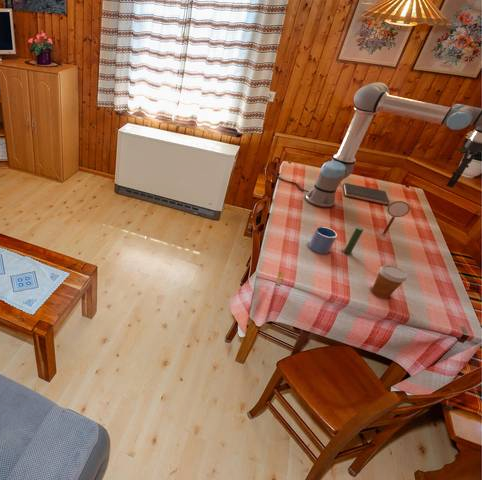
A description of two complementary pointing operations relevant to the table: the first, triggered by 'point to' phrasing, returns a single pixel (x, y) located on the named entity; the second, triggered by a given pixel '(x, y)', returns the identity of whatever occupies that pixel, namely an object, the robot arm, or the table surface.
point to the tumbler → (322, 240)
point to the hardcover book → (365, 193)
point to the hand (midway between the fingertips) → (452, 182)
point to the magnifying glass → (396, 211)
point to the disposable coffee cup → (388, 280)
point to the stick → (353, 240)
